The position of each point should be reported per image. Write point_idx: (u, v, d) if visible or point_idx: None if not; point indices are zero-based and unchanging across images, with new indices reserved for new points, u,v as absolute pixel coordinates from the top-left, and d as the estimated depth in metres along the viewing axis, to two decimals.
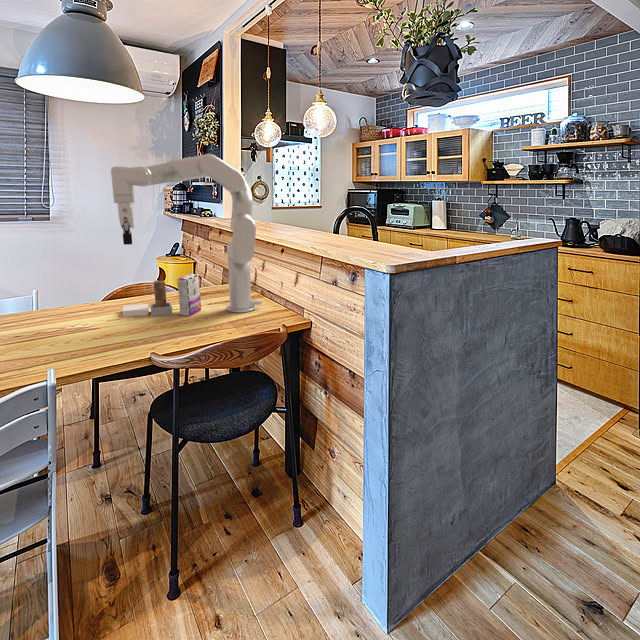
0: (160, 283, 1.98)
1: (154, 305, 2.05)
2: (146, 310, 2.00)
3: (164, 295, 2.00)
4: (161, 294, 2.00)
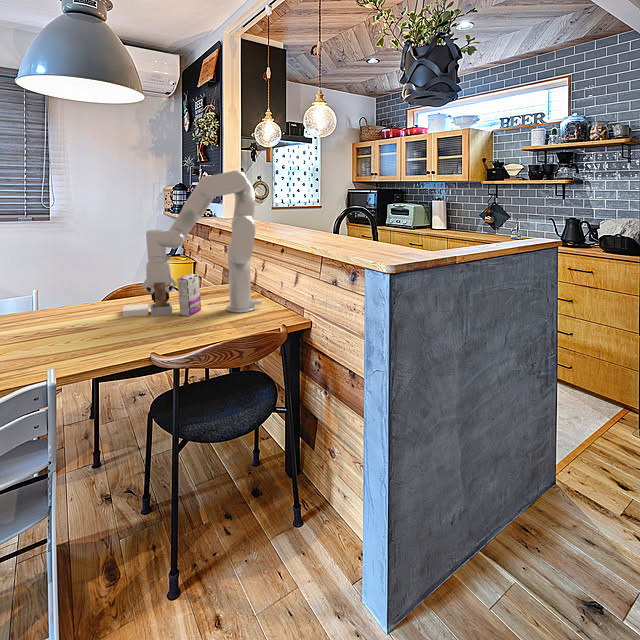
0: (160, 283, 1.98)
1: (154, 305, 2.05)
2: (146, 310, 2.00)
3: (164, 295, 2.00)
4: (161, 293, 2.00)
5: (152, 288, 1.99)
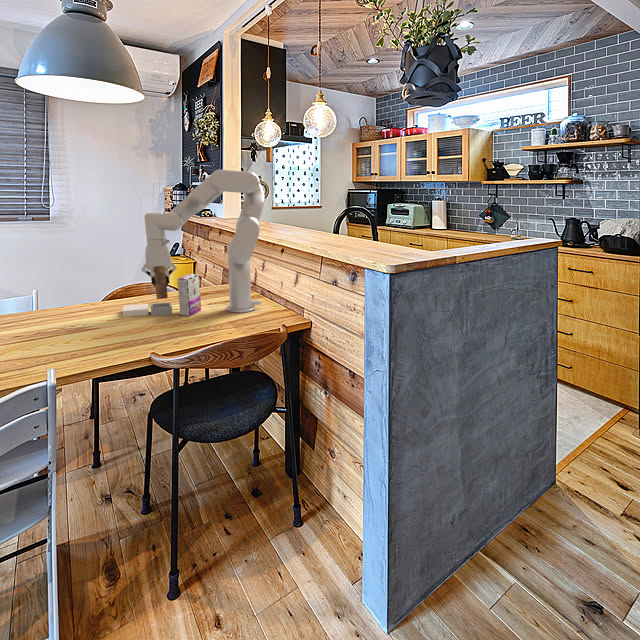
0: (160, 267, 1.97)
1: (154, 305, 2.05)
2: (146, 310, 2.00)
3: (164, 279, 1.98)
4: (161, 277, 1.98)
5: (152, 272, 1.97)
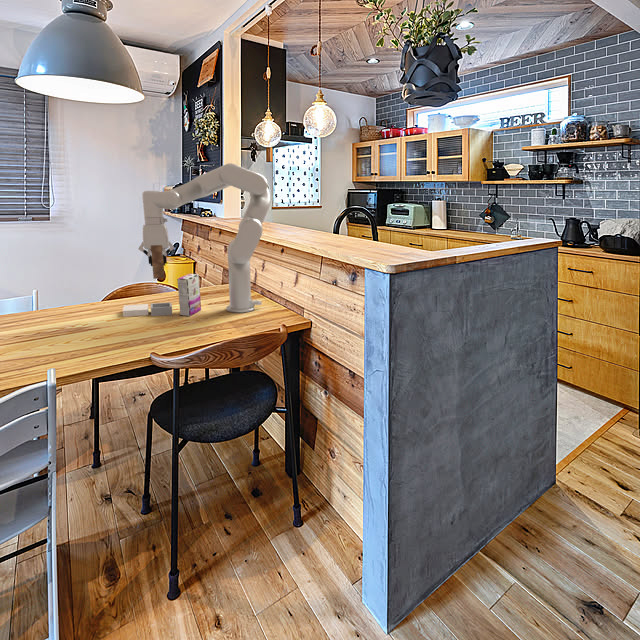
0: (157, 246, 1.94)
1: (154, 305, 2.05)
2: (146, 310, 2.00)
3: (161, 258, 1.96)
4: (158, 257, 1.95)
5: (149, 251, 1.94)
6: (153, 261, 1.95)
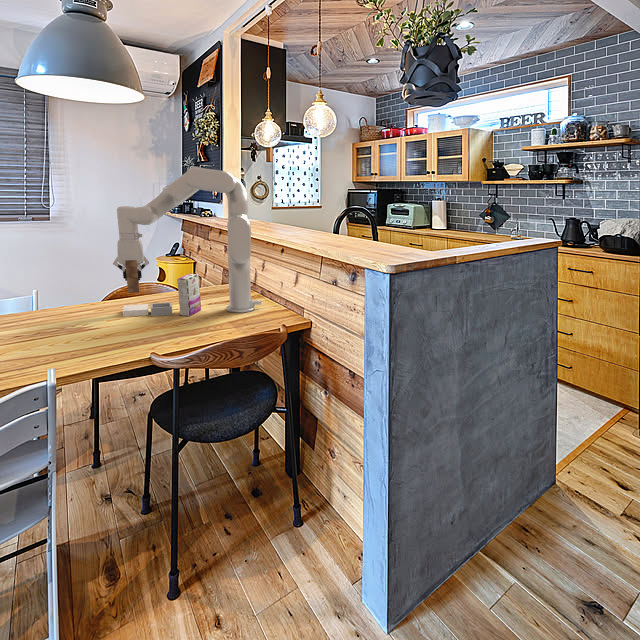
0: (132, 261, 1.95)
1: (154, 305, 2.05)
2: (146, 310, 2.00)
3: (136, 273, 1.97)
4: (133, 271, 1.96)
5: (123, 266, 1.95)
6: (127, 276, 1.96)
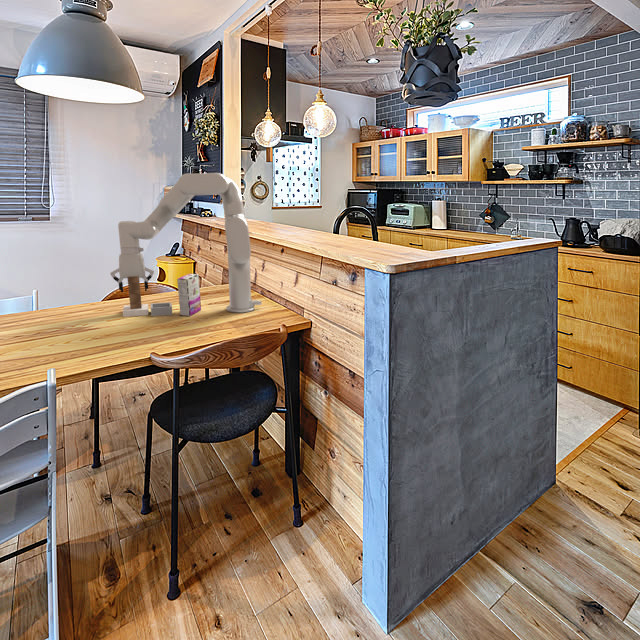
0: (134, 277, 1.97)
1: (154, 305, 2.05)
2: (146, 310, 2.00)
3: (138, 289, 1.99)
4: (135, 288, 1.98)
5: (121, 278, 1.96)
6: (130, 292, 1.98)
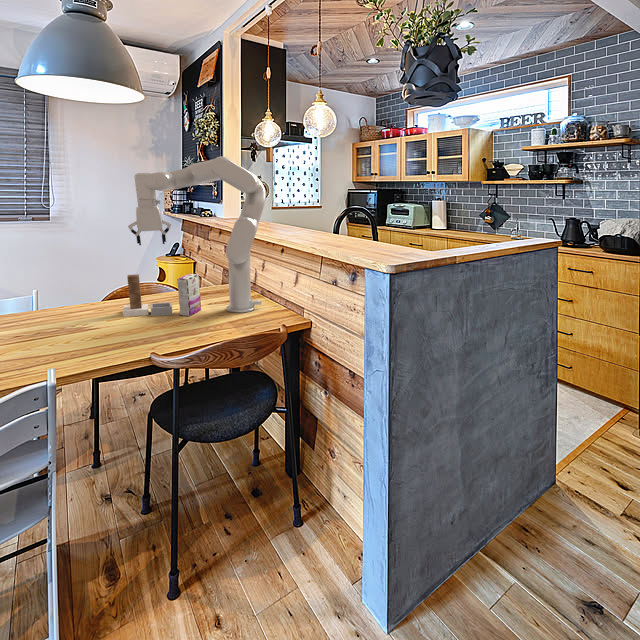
0: (134, 277, 1.97)
1: (154, 305, 2.05)
2: (146, 310, 2.00)
3: (138, 289, 1.99)
4: (135, 288, 1.98)
5: (139, 231, 1.97)
6: (130, 292, 1.98)
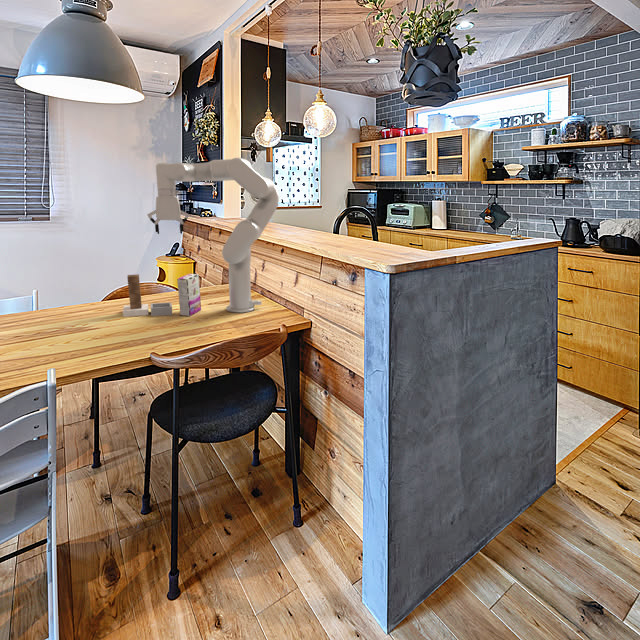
0: (134, 277, 1.97)
1: (154, 305, 2.05)
2: (146, 310, 2.00)
3: (138, 289, 1.99)
4: (135, 288, 1.98)
5: (158, 220, 2.01)
6: (130, 292, 1.98)
